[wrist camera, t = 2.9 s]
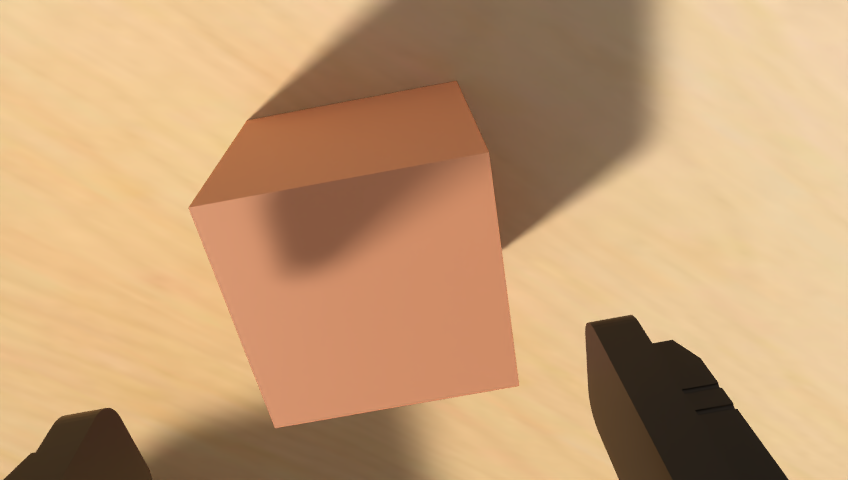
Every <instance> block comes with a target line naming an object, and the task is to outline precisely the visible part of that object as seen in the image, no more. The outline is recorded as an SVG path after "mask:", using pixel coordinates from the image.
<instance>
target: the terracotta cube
mask: <svg viewBox="0 0 848 480" xmlns="http://www.w3.org/2000/svg"><path fill="white" fill-rule="evenodd" d="M189 210H190V213H191V215H192V218H193V220H194V223H195V226H196V228H197V231H198V233H199V236H200V238H201V241H202V243H203V246H204V249H205V251H206V254H207V256H208V259H209V261H210V264H211V266H212V269H213V271H214V274H215V277H216V279H217V282H218V284H219V287H220V289H221V292H222V294H223V297H224V300H225V302H226V305H227V307H228V310H229V312H230V315H231V317H232V320H233V323H234V325H235V328H236V330H237V333H238V335H239V338H240V340H241V343H242V346H243V348H244V351H245V353H246V356H247V358H248V361H249V363H250V366H251V368H252V371H253V374H254V376H255V379H256V381H257V384H258V386H259V389H260V391H261V394H262V397H263V399H264V402H265V404H266V407H267V409H268V412H269V414H270V417H271V420H272V422H273V425H274V427H275V428H280V427H285V426H291V425H297V424H303V423H308V422H314V421H320V420H326V419H331V418H337V417H343V416H349V415H354V414H360V413H366V412H372V411H377V410H383V409H389V408H395V407H400V406H406V405H412V404H418V403H423V402H429V401H435V400H441V399H446V398H452V397H458V396H464V395H470V394H475V393H481V392H487V391H493V390H498V389H504V388H510V387H516V386H519V381H518V373H517V365H516V357H515V350H514V342H513V334H512V326H511V319H510V311H509V303H508V295H507V288H506V280H505V272H504V264H503V257H502V249H501V241H500V233H499V226H498V218H497V210H496V202H495V195H494V187H493V179H492V171H491V164H490V156H489V151H488V149H487V147H486V144H485V142H484V140H483V138H482V136H481V133H480V131H479V129H478V127H477V125H476V122H475V120H474V118H473V116H472V114H471V111H470V109H469V107H468V105H467V103H466V100H465V98H464V96H463V94H462V92H461V89H460V87H459V85H458V83H457V81H453V82H448V83H442V84H437V85H432V86H426V87H421V88H416V89H411V90H405V91H400V92H395V93H389V94H384V95H379V96H373V97H368V98H363V99H357V100H352V101H347V102H341V103H336V104H331V105H325V106H320V107H315V108H309V109H304V110H299V111H293V112H288V113H283V114H278V115H272V116H267V117H262V118H256V119H251V120H247V121H246V123H245V124H244V126H243V127H242V129H241V130H240V132H239V133H238V135H237V136H236V138H235V139H234V141H233V142H232V144H231V145H230V147H229V148H228V150H227V151H226V153H225V154H224V156H223V157H222V159H221V160H220V162H219V163H218V164H217V166H216V167H215V169H214V170H213V172H212V173H211V175H210V176H209V178H208V179H207V181H206V182H205V184H204V185H203V187H202V188H201V190H200V191H199V193H198V194H197V196H196V197H195V199H194V200H193V202H192V203H191V205H190V206H189Z"/></svg>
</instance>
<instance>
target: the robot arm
mask: <svg viewBox="0 0 848 480" xmlns="http://www.w3.org/2000/svg"><path fill="white" fill-rule="evenodd" d="M585 336H586V354H587V373H588V391H589V399H590V405H591V409H592V413H593V417H594V420H595V424H596V426H597V429H598V432H599V434H600V436H601V439H602V441H603V443H604V446H605V448H606V450H607V453H608V455H609V457H610V460H611V462H612V464H613V467H614V469H615V471H616V474H617V476H618V478H619V480H788V478H787V477H786V475H785V474H784V473H783V471H782V470H781V469H780V467H779V466H778V464H777V463H776V462H775V460H774V459H773V458H772V456H771V455H770V453H769V452H768V451H767V449H766V448H765V447H764V445H763V444H762V442H761V441H760V440H759V438H758V437H757V436H756V434H755V433H754V431H753V430H752V429H751V427H750V426H749V424H748V423H747V422H746V420H745V419H744V418H743V416H742V415H741V413H740V412H739V411H738V409H735V408H734V406H733V402H732V401H731V400H730V398H729V397H728V396H727V394H726V393H725V391H724V390H723V389H722V388H720V387H719V385H718V382H717V380H716V379H715V378H714V376H713V375H712V374H711V372H710V371H709V369H708V368H707V367H706V365H705V364H704V363H703V361H702V360H701V358H699V357H698V356H696V355H695V354H693V353H692V352H690V351H689V350H687V349H686V348H684V347H683V346H681V345H680V344H678V343H676V342H675V341H673V340H669V341H664V342H658V343H652V342H651V341H650V339H649V338H648V336H647V334H646V333H645V331H644V330H643V328H642V327H641V325H640V324H639V322H638V320H637V319H636V318H635V317H634V316H633V315H628V316H622V317H617V318H611V319H606V320H600V321H595V322H589V323H587V324H586V329H585ZM4 480H152V478H151V474H150V470H149V468H148V466H147V464H146V463H145V461H144V459H143V457H142V455H141V454H140V452H139V450H138V448H137V447H136V445H135V443H134V441H133V439H132V438H131V436H130V434H129V432H128V430H127V429H126V427H125V425H124V423H123V421H122V420H121V418H120V416H119V415H118V413H117V412H116V411H114V410H113V409H111V408H104V409H99V410H93V411H88V412H82V413H76V414H71V415H65V416H62V417H60V418H59V419H58V420H57V421H56V422H55V423H54V424H53V426H52V427H51V429H50V431H49V432H48V434H47V435H46V437H45V439H44V440H43V442H42V443H41V445H40V447H39V448H38V450H37V451H36V453H31V454H30V455H29V456H28V457H27V458H26V459H25V460H23V461H22V462H21V463H20V464H19V465H18V466H17V467H16V468H15V469H14V470H13V471H12V472H11V473H10V474H9V475H8V476H7V477H6V478H5V479H4Z"/></svg>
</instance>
